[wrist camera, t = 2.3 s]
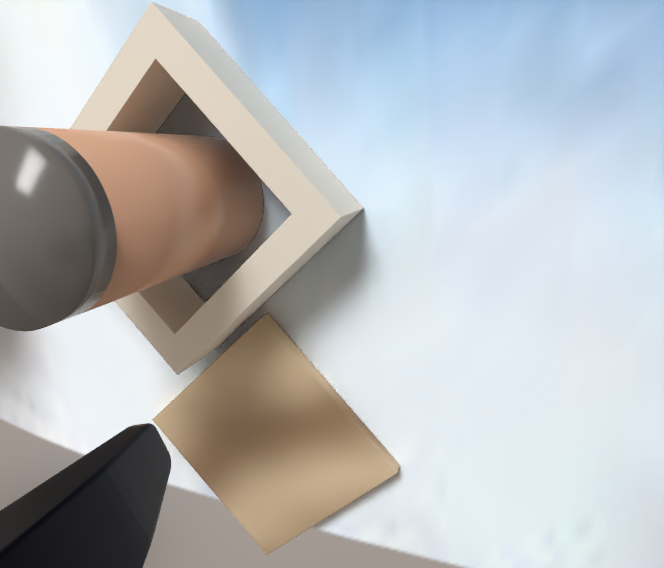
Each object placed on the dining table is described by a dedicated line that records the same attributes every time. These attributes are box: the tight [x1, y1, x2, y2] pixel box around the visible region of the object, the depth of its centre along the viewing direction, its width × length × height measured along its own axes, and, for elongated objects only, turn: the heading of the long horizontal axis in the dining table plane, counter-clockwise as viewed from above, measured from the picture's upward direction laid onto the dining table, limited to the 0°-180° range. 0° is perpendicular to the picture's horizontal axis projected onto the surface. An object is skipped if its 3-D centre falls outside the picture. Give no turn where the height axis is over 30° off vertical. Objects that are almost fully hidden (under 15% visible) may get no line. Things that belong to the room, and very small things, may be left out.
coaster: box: [152, 313, 400, 554], centre depth 24 cm, size 9×9×1 cm
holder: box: [70, 2, 364, 375], centre depth 21 cm, size 10×10×3 cm
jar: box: [0, 126, 264, 331], centre depth 18 cm, size 5×5×10 cm
